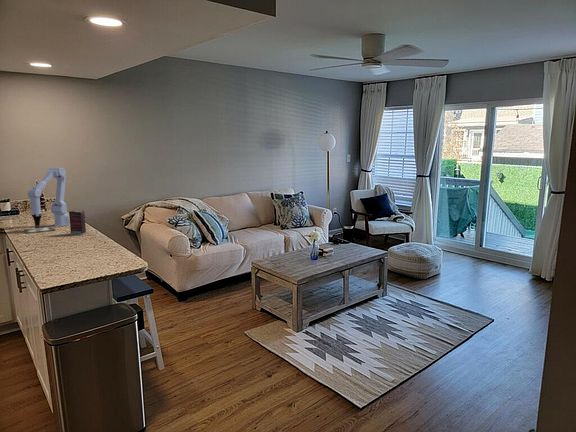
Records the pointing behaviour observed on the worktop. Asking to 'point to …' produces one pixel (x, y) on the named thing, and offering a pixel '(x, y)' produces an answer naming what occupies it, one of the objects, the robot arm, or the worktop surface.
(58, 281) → the worktop surface
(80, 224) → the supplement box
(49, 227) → the clipboard
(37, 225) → the marker
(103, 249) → the worktop surface
